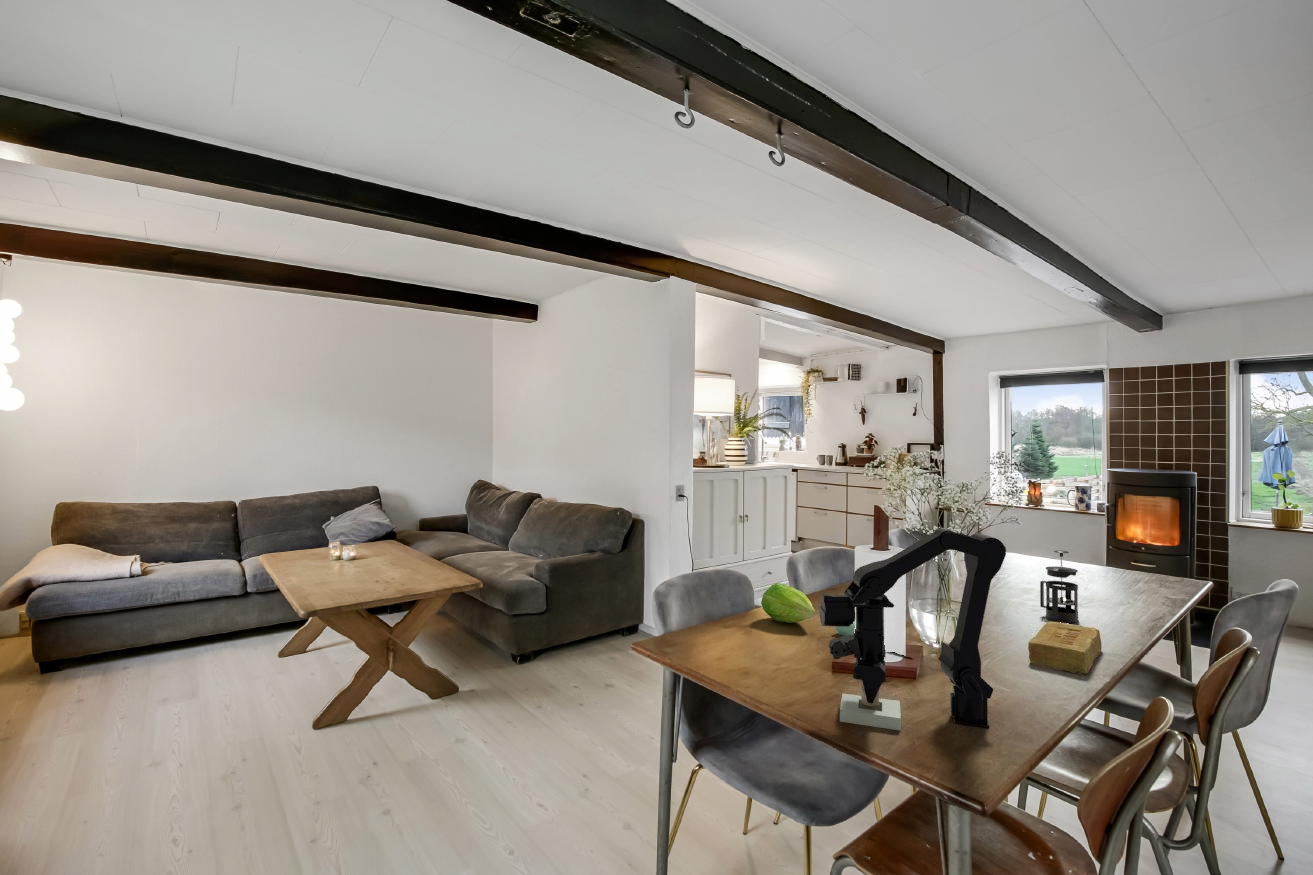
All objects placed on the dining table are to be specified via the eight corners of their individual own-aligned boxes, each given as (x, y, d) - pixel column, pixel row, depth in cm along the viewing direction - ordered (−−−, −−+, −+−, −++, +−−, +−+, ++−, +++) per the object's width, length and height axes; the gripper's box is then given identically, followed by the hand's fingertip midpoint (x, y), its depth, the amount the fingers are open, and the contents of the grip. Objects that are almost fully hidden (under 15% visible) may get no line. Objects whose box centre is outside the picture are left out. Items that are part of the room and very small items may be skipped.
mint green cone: (906, 641, 166) (834, 616, 189) (906, 661, 166) (834, 634, 189) (920, 638, 168) (847, 614, 192) (920, 658, 168) (847, 631, 192)
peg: (879, 712, 133) (879, 671, 133) (879, 719, 129) (879, 677, 129) (861, 710, 134) (861, 669, 134) (860, 717, 131) (860, 675, 131)
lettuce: (795, 635, 188) (795, 596, 188) (753, 619, 205) (753, 583, 205) (828, 628, 195) (828, 590, 195) (785, 613, 212) (785, 578, 212)
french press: (1086, 621, 202) (1086, 551, 202) (1072, 625, 197) (1071, 554, 197) (1048, 613, 212) (1048, 546, 212) (1034, 617, 207) (1033, 549, 207)
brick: (1028, 668, 163) (1026, 642, 164) (1048, 643, 183) (1045, 620, 183) (1089, 678, 154) (1086, 650, 155) (1103, 650, 174) (1100, 625, 174)
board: (899, 712, 134) (899, 700, 134) (900, 730, 125) (900, 718, 125) (842, 704, 138) (842, 693, 138) (839, 721, 130) (839, 709, 130)
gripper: (834, 611, 144) (834, 678, 143) (827, 635, 126) (827, 711, 126) (885, 616, 140) (885, 684, 139) (885, 641, 122) (885, 719, 122)
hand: (870, 699), depth 132 cm, fingers closed on peg, 4 cm apart
